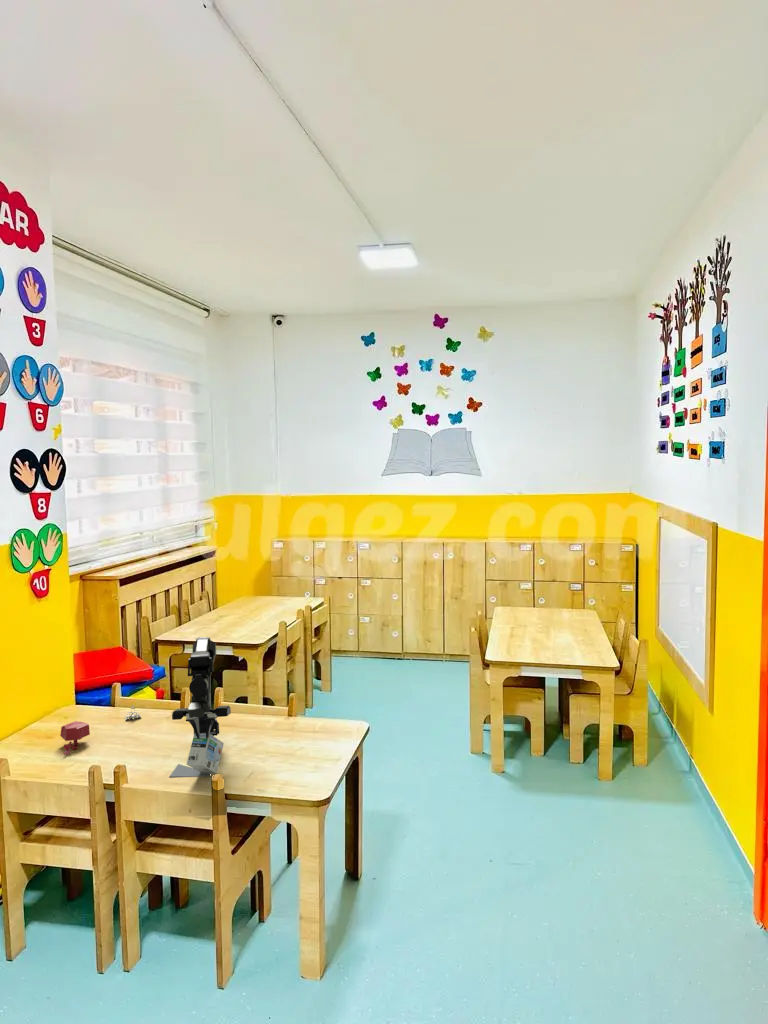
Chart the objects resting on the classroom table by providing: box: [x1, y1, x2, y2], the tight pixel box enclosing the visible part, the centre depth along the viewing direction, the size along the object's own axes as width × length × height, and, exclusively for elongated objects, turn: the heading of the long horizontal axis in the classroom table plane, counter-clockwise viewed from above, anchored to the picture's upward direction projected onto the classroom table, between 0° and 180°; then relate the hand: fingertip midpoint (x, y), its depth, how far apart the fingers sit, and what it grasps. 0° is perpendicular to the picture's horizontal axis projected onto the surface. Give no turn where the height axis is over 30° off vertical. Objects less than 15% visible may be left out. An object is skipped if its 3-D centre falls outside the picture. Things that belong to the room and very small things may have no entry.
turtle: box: [59, 720, 91, 755], centre depth 278 cm, size 15×20×9 cm
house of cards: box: [124, 704, 142, 721], centre depth 311 cm, size 9×9×8 cm
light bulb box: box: [186, 732, 225, 774], centre depth 253 cm, size 11×7×11 cm
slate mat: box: [169, 763, 213, 778], centre depth 258 cm, size 11×20×1 cm, turn 89°
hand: (202, 738), depth 250 cm, fingers closed
